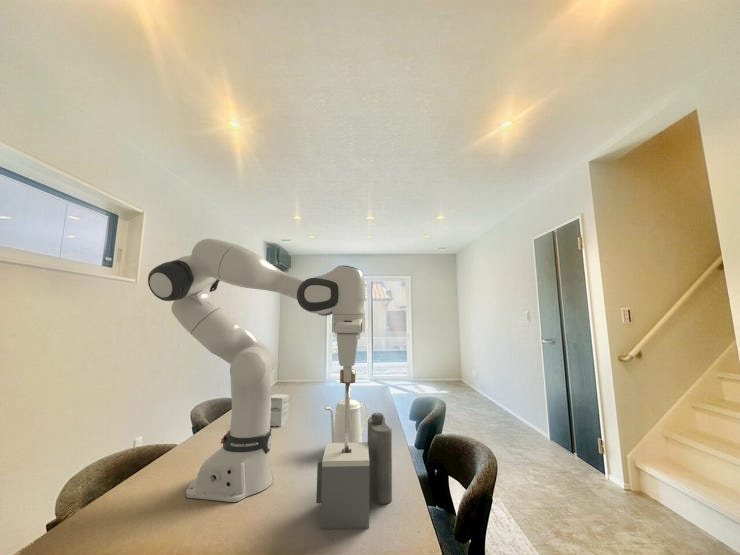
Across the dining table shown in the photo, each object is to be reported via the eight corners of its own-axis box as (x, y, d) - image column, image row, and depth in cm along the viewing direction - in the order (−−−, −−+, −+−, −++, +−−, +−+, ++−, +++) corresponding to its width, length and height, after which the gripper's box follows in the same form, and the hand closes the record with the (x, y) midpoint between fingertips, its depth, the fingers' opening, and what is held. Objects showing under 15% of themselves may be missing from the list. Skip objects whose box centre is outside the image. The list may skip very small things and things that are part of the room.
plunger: (332, 479, 71) (334, 372, 75) (334, 466, 78) (336, 368, 82) (359, 478, 72) (360, 372, 76) (359, 465, 78) (360, 368, 82)
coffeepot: (310, 457, 104) (312, 400, 107) (356, 436, 124) (357, 389, 127) (333, 466, 98) (334, 405, 101) (378, 443, 117) (378, 392, 120)
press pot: (313, 529, 68) (315, 461, 70) (319, 501, 78) (320, 442, 81) (369, 528, 68) (369, 460, 70) (367, 500, 79) (367, 442, 81)
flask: (365, 476, 91) (365, 407, 94) (383, 475, 92) (383, 406, 95) (371, 505, 77) (371, 422, 80) (393, 504, 77) (393, 421, 80)
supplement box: (265, 426, 136) (267, 397, 138) (273, 421, 143) (275, 393, 145) (281, 427, 135) (282, 397, 137) (288, 422, 142) (289, 394, 144)
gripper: (338, 325, 91) (337, 373, 88) (334, 326, 70) (332, 387, 68) (359, 325, 91) (359, 373, 89) (360, 326, 71) (360, 387, 68)
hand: (347, 379), depth 78 cm, fingers closed on plunger, 4 cm apart
